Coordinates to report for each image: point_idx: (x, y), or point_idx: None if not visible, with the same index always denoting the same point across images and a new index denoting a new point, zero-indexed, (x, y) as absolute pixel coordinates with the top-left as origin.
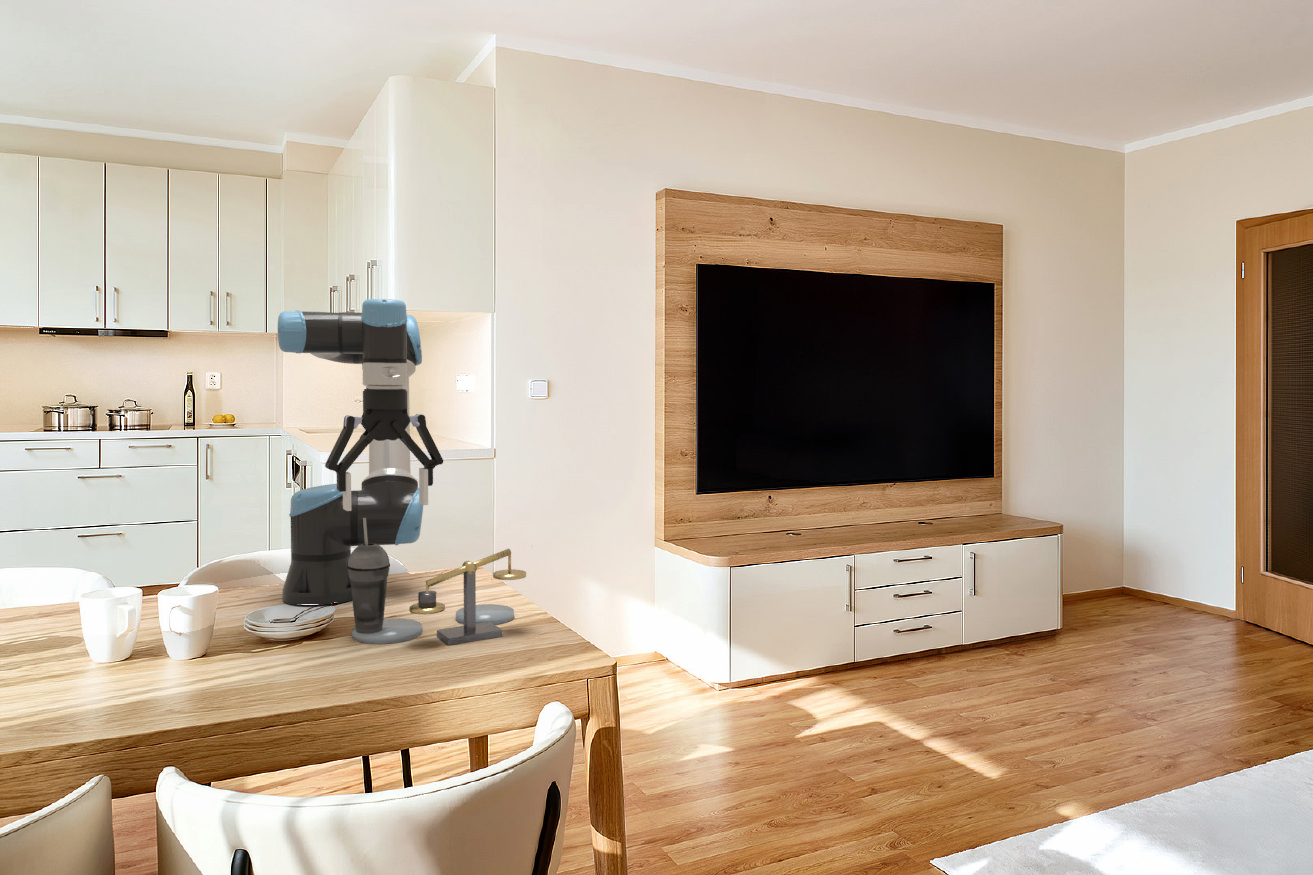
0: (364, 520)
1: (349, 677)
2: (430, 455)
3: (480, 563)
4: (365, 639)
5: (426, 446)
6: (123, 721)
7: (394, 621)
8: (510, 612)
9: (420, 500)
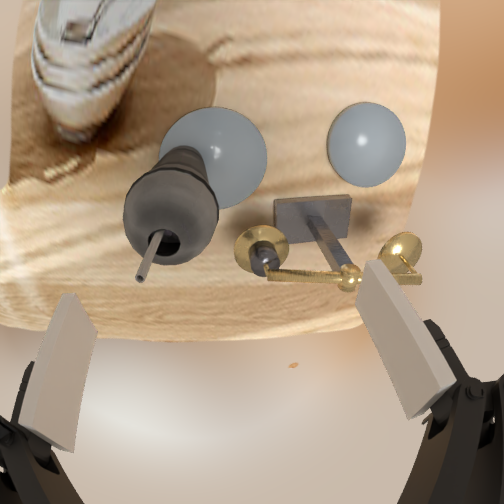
0: (141, 276)
1: (153, 296)
2: (495, 424)
3: None
4: None
5: (488, 478)
6: (21, 312)
7: (230, 132)
8: (393, 169)
9: (368, 281)
